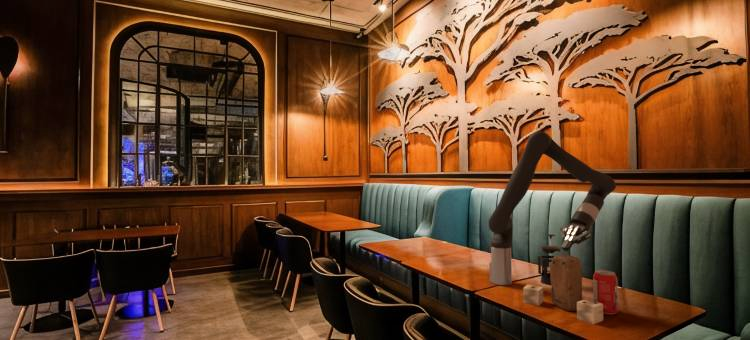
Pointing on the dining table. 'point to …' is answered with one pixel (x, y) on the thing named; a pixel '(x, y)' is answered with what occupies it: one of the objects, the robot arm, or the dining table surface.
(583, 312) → the dotted cube two
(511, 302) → the dining table surface
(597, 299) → the soda can
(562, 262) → the block
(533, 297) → the dotted cube one
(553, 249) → the french press
